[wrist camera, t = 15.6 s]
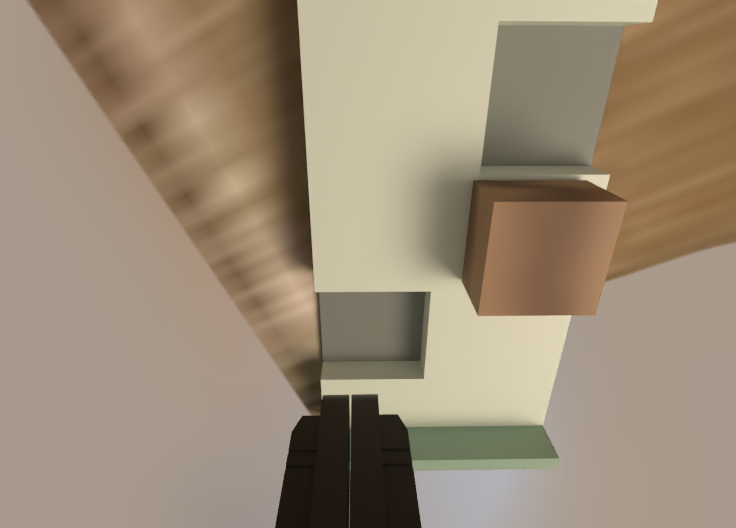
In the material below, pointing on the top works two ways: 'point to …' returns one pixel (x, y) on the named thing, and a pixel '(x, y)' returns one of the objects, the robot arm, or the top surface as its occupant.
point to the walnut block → (539, 246)
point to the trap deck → (443, 201)
